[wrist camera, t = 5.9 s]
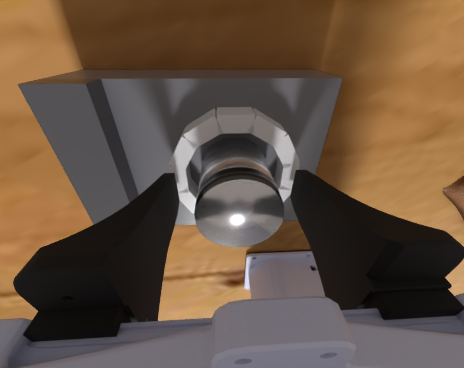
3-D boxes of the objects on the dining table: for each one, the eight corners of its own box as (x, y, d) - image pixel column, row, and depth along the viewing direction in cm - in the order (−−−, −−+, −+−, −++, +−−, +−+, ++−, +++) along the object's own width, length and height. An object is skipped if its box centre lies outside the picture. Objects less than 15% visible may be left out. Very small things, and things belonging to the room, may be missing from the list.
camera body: (314, 69, 15) (357, 82, 10) (289, 192, 21) (308, 233, 16) (82, 69, 14) (17, 84, 9) (128, 197, 20) (103, 242, 16)
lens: (271, 137, 13) (294, 181, 9) (261, 193, 16) (276, 247, 12) (200, 135, 13) (191, 180, 9) (202, 192, 15) (196, 248, 11)
